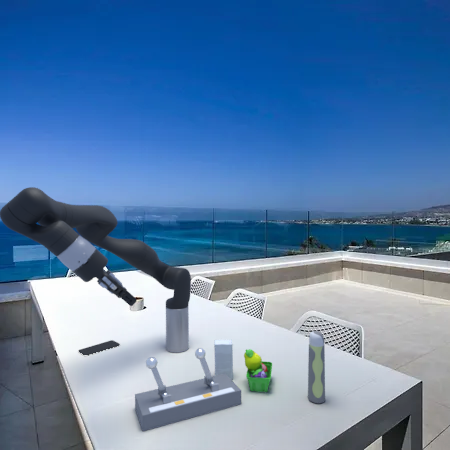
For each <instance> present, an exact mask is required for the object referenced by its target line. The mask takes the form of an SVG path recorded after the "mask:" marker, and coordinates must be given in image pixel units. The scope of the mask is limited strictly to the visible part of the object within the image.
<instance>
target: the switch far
mask: <svg viewBox="0 0 450 450" xmlns="http://www.w3.org/2000/svg"><path fill="white" fill-rule="evenodd" d="M194 356H195V358H196V359H198V360H199V362H200V365H201V367H202V370H203V374H204V376H206V378H207V380H206V382H207V383H208V384H209V386H210V387H211V384H215V382H214V381H213V378H212V376H213V375H212V373H211V371H210V368H209V365H208V362H207V360H206V350H205V349H204V348H202V347H198V348H197V349H196V350H195V352H194Z"/></svg>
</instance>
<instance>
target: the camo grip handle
mask: <svg viewBox="0 0 450 450" xmlns="http://www.w3.org/2000/svg"><path fill="white" fill-rule="evenodd" d="M308 337H309V340H308V367H307V368H308V373H307V375H308V377H307V397H308V400H309V402H312V403H314V404H322V403H324V402H325V401H326V376H325V375H326V369H325V367H326V363H325V361H326V360H325V356H326V354H325V338H324V335H323V334H322V332H321V331H319V330H314V331H311V332H310V333H309V335H308Z"/></svg>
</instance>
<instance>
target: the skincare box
mask: <svg viewBox="0 0 450 450" xmlns="http://www.w3.org/2000/svg"><path fill="white" fill-rule="evenodd" d="M213 345H214V347H213V348H214V376H217V375H221V374H226V375H227V376H228V377H229V378H230V379H231V380H232V381H233V379H234V373H233V372H234V367H233V366H234V365H233V363H234V362H233V361H234V360H233V346H234V344H233V341H232V339H215V340H214V344H213Z"/></svg>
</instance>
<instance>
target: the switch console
mask: <svg viewBox="0 0 450 450" xmlns="http://www.w3.org/2000/svg"><path fill="white" fill-rule="evenodd" d="M212 378H213V381H214V382H215V384H211V387H210V386H209V384H208V383H207V382H206V380H207V378H206V376H205V375H204V377H203V378H200V379H196V380H192V381H191V380H190V381H187V382H181V383H178V384H177V383H176V384H173V385H169V386H166V384H163V385H164V387H165V389H166V392H167V394H168V395H165V396H163V398H162V396H161V394H160V390H159V387H158V386H157V388H156V389H151V390H148V391H143V392H139V393H135V394H134V408H135V412H136V415H137V418H138V421H139V425H140V428H141V430H142V432H145V431H149V430H152V429H156V428H160V427H163V426H167V425H171V424H174V423H177V422H181V421H186V420H189V419H192V418H196V417H199V416H203V415H206V414H211V413H214V412H216V411H220V410H225V409H228V408H232V407H235V406H238V405H242V389H241V388H240V387H239V386H238V385H237V384H236V383H235V382H234V381H233V380H231V379H230V378H229V377H228V376H227V375H226V374H221V375H217V376H215V375H214V376H213V375H212Z"/></svg>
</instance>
